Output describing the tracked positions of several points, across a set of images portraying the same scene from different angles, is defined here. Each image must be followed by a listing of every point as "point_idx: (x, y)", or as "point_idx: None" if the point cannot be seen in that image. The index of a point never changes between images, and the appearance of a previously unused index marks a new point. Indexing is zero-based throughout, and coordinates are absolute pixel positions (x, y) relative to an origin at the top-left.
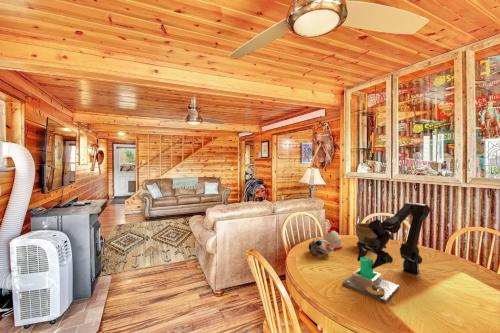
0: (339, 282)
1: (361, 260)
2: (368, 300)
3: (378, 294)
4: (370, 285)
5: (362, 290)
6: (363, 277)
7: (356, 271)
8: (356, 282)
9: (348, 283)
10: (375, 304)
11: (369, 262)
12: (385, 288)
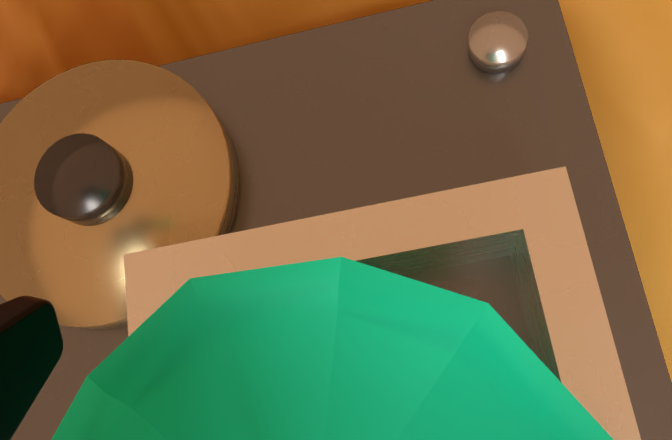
0: (632, 24)
1: (424, 287)
2: (124, 16)
3: (17, 116)
4: (183, 218)
5: (227, 50)
6: (312, 220)
7: (580, 338)
8: (418, 165)
9: (470, 26)
10: (41, 20)
11: (80, 389)
12: (38, 412)
